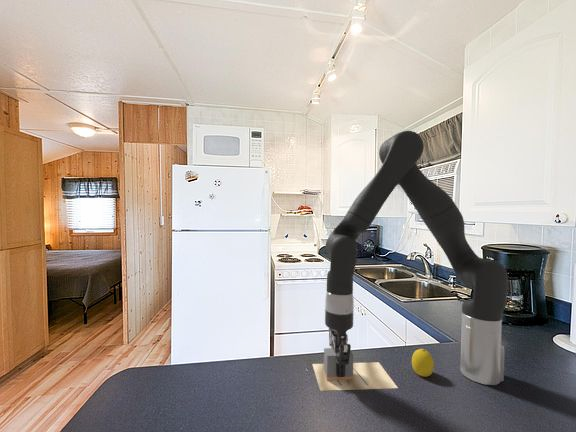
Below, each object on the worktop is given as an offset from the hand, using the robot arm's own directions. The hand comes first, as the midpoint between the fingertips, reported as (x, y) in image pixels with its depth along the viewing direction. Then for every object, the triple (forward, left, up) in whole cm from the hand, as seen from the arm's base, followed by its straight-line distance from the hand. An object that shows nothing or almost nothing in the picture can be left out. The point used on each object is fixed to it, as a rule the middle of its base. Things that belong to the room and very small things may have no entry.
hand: (338, 370), depth 74 cm
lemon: (-24, 0, -3) cm, 24 cm away
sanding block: (0, 0, -1) cm, 1 cm away
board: (-4, 0, -3) cm, 5 cm away
